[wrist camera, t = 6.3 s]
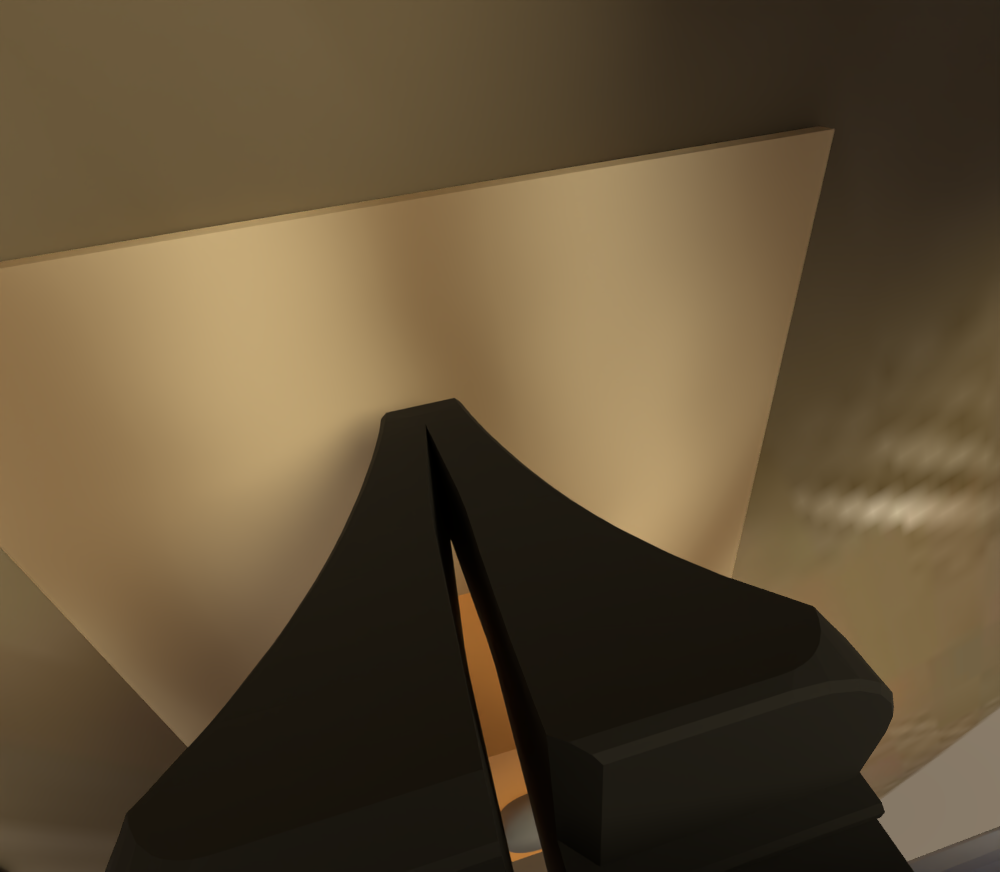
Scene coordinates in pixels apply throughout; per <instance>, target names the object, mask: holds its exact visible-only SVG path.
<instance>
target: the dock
mask: <svg viewBox="0 0 1000 872" xmlns="http://www.w3.org/2000/svg"><path fill="white" fill-rule="evenodd" d="M834 131H835V129H833V128H827V127H821V126H816V127H810V128H804V129H798V130H792V131H786V132H780V133H774V134H768V135H762V136H756V137H750V138H744V139H738V140H732V141H726V142H720V143H714V144H707V145H701V146H695V147H689V148H683V149H677V150H671V151H665V152H659V153H653V154H647V155H641V156H635V157H629V158H623V159H617V160H611V161H605V162H599V163H593V164H587V165H581V166H575V167H569V168H563V169H557V170H551V171H545V172H539V173H533V174H527V175H520V176H514V177H508V178H502V179H496V180H490V181H484V182H478V183H472V184H466V185H460V186H454V187H448V188H442V189H436V190H430V191H424V192H418V193H412V194H406V195H400V196H394V197H388V198H382V199H376V200H370V201H364V202H358V203H352V204H346V205H340V206H334V207H327V208H321V209H315V210H309V211H303V212H297V213H291V214H285V215H279V216H273V217H267V218H261V219H255V220H249V221H243V222H237V223H231V224H225V225H219V226H213V227H207V228H201V229H195V230H189V231H183V232H177V233H171V234H165V235H159V236H153V237H147V238H140V239H134V240H128V241H122V242H116V243H110V244H104V245H98V246H92V247H86V248H80V249H74V250H68V251H62V252H56V253H50V254H44V255H38V256H32V257H26V258H20V259H14V260H8V261H2V262H0V547H1V548H2V549H3V550H4V551H5V552H6V554H7V555H8V556H9V557H10V558H11V559H12V560H13V561H14V562H15V563H16V564H17V565H18V566H19V567H20V569H21V570H22V571H23V572H24V573H25V574H26V575H27V576H28V577H29V578H30V579H31V580H32V581H33V582H34V583H35V585H36V586H37V587H38V588H39V589H40V590H41V591H42V592H43V593H44V594H45V595H46V596H47V597H48V598H49V600H50V601H51V602H52V603H53V604H54V605H55V606H56V607H57V608H58V609H59V610H60V611H61V612H62V613H63V614H64V616H65V617H66V618H67V619H68V620H69V621H70V622H71V623H72V624H73V625H74V626H75V627H76V628H77V629H78V631H79V632H80V633H81V634H82V635H83V636H84V637H85V638H86V639H87V640H88V641H89V642H90V643H91V644H92V645H93V647H94V648H95V649H96V650H97V651H98V652H99V653H100V654H101V655H102V656H103V657H104V658H105V659H106V660H107V662H108V663H109V664H110V665H111V666H112V667H113V668H114V669H115V670H116V671H117V672H118V673H119V674H120V675H121V676H122V678H123V679H124V680H125V681H126V682H127V683H128V684H129V685H130V686H131V687H132V688H133V689H134V690H135V691H136V693H137V694H138V695H139V696H140V697H141V698H142V699H143V700H144V701H145V702H146V703H147V704H148V705H149V706H150V707H151V709H152V710H153V711H154V712H155V713H156V714H157V715H158V716H159V717H160V718H161V719H162V720H163V721H164V722H165V724H166V725H167V726H168V727H169V728H170V729H171V730H172V731H173V732H174V733H175V734H176V735H177V736H178V737H179V738H180V740H181V741H182V742H183V743H184V744H185V745H186V746H187V747H189V746H190V745H191V743H192V742H193V741H194V740H195V739H196V738H197V737H198V736H199V735H200V734H201V733H202V731H203V730H204V729H205V728H206V727H207V726H208V725H209V724H210V722H211V721H212V720H213V719H214V718H215V716H216V715H217V714H218V713H219V712H220V710H221V709H222V708H223V707H224V706H225V705H226V703H227V702H228V701H229V699H230V698H231V697H232V696H233V694H234V693H235V692H236V691H237V689H238V688H239V687H240V685H241V684H242V683H243V682H244V680H245V679H246V678H247V676H248V675H249V674H250V673H251V671H252V670H253V669H254V668H255V666H256V665H257V664H258V662H259V661H260V660H261V659H262V657H263V656H264V655H265V653H266V652H267V651H268V650H269V648H270V647H271V646H272V644H273V643H274V642H275V640H276V639H277V637H278V636H279V635H280V633H281V632H282V630H283V629H284V627H285V626H286V625H287V623H288V622H289V620H290V619H291V617H292V616H293V614H294V613H295V611H296V610H297V608H298V606H299V605H300V603H301V602H302V600H303V599H304V597H305V596H306V594H307V593H308V591H309V590H310V588H311V587H312V585H313V583H314V582H315V580H316V578H317V577H318V575H319V573H320V571H321V570H322V568H323V566H324V564H325V563H326V561H327V559H328V557H329V556H330V554H331V552H332V550H333V548H334V546H335V544H336V542H337V540H338V538H339V537H340V535H341V533H342V530H343V528H344V526H345V524H346V522H347V519H348V517H349V515H350V513H351V511H352V508H353V506H354V504H355V502H356V500H357V497H358V495H359V492H360V490H361V487H362V484H363V482H364V479H365V476H366V473H367V471H368V468H369V465H370V462H371V459H372V456H373V453H374V449H375V446H376V442H377V438H378V434H379V429H380V422H381V419H382V417H383V416H384V415H385V413H387V412H391V411H396V410H401V409H405V408H410V407H414V406H419V405H423V404H428V403H433V402H437V401H442V400H446V399H451V398H455V399H457V400H459V401H460V402H461V403H462V404H463V405H464V407H465V408H466V409H467V410H468V411H469V413H470V414H471V415H472V416H473V417H474V418H475V419H476V420H477V421H478V423H479V424H480V425H481V426H482V427H483V428H484V429H485V430H486V431H487V432H488V433H489V434H490V435H491V436H492V437H493V438H495V439H496V440H497V441H498V442H499V443H500V444H501V445H502V446H503V447H504V448H506V449H507V450H508V451H509V452H510V453H511V454H512V455H513V456H515V457H516V458H517V459H518V460H519V461H520V462H522V463H523V464H524V465H525V466H526V467H528V468H529V469H530V470H531V471H533V472H534V473H535V474H537V475H538V476H539V477H540V478H542V479H543V480H544V481H546V482H547V483H548V484H550V485H551V486H552V487H554V488H555V489H557V490H558V491H559V492H561V493H562V494H564V495H565V496H567V497H568V498H570V499H571V500H573V501H574V502H576V503H577V504H579V505H581V506H582V507H584V508H585V509H587V510H588V511H590V512H592V513H593V514H595V515H597V516H598V517H600V518H602V519H604V520H605V521H607V522H609V523H611V524H612V525H614V526H616V527H618V528H620V529H622V530H624V531H626V532H628V533H630V534H632V535H634V536H636V537H638V538H640V539H642V540H644V541H646V542H648V543H650V544H652V545H654V546H656V547H658V548H660V549H662V550H664V551H666V552H668V553H671V554H673V555H675V556H677V557H680V558H682V559H684V560H687V561H689V562H692V563H694V564H696V565H699V566H701V567H704V568H706V569H709V570H711V571H713V572H716V573H718V574H721V575H724V576H726V577H729V578H731V577H732V573H733V569H734V564H735V560H736V556H737V551H738V547H739V543H740V538H741V534H742V530H743V525H744V521H745V517H746V512H747V508H748V504H749V499H750V495H751V491H752V486H753V482H754V478H755V473H756V469H757V465H758V460H759V456H760V452H761V447H762V443H763V439H764V434H765V430H766V426H767V421H768V417H769V413H770V408H771V404H772V400H773V395H774V391H775V387H776V382H777V378H778V374H779V369H780V365H781V361H782V356H783V352H784V348H785V343H786V339H787V335H788V330H789V326H790V322H791V317H792V313H793V308H794V304H795V300H796V295H797V291H798V287H799V282H800V278H801V274H802V269H803V265H804V261H805V256H806V252H807V248H808V243H809V239H810V235H811V230H812V226H813V222H814V217H815V213H816V209H817V204H818V200H819V196H820V191H821V187H822V183H823V178H824V174H825V170H826V165H827V161H828V157H829V152H830V148H831V144H832V139H833V135H834ZM451 546H452V554H453V561H454V569H455V576H456V584H457V592H458V596H459V595H463V594H466V593H470V592H469V589H468V586H467V583H466V581H465V578H464V575H463V572H462V569H461V567H460V564H459V561H458V558H457V555H456V553H455V550H454V547H453V544H452V541H451ZM512 865H513V870H514V872H547V868H546V864H545V860H544V856H543V852H540V853H537V854H534V855H531V856H528V857H525V858H522V859H519V860H516V861H513V862H512Z"/></svg>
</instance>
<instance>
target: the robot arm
mask: <svg viewBox="0 0 1000 872" xmlns="http://www.w3.org/2000/svg"><path fill="white" fill-rule="evenodd" d="M451 541H452V544H453V547H454V550H455V553H456V555H457V558H458V561H459V564H460V567H461V569H462V572H463V575H464V578H465V581H466V583H467V586H468V589H469V592H470V594H471V597H472V600H473V603H474V606H475V608H476V611H477V614H478V617H479V619H480V622H481V625H482V628H483V631H484V633H485V636H486V639H487V642H488V645H489V648H490V651H491V654H492V658H493V661H494V664H495V667H496V671H497V675H498V679H499V683H500V687H501V691H502V695H503V699H504V702H505V706H506V710H507V714H508V718H509V722H510V726H511V730H512V734H513V738H514V741H515V745H516V749H517V753H518V757H519V761H520V765H521V769H522V773H523V777H524V781H525V785H526V789H527V793H528V797H529V801H530V804H531V808H532V812H533V816H534V820H535V824H536V828H537V832H538V836H539V840H540V844H541V848H542V852H543V856H544V860H545V864H546V868H547V872H1000V826H999V827H997V828H994V829H992V830H989V831H986V832H984V833H981V834H978V835H976V836H973V837H971V838H968V839H966V840H963V841H960V842H957V843H955V844H952V845H950V846H947V847H944V848H942V849H939V850H937V851H934V852H931V853H929V854H926V855H923V856H921V857H918V858H915V859H913V860H910V861H908V862H907V861H906V860H905V858H904V857H903V855H902V854H901V852H900V851H899V850H898V848H897V847H896V845H895V844H894V842H893V841H892V840H891V838H890V837H889V835H888V834H887V833H886V831H885V830H884V829H883V827H882V826H881V824H880V823H879V821H878V820H877V818H880V817H881V816H882V815H883V814H884V812H885V811H884V808H883V805H882V802H881V801H880V800H879V798H878V797H877V795H876V794H875V793H874V791H873V790H872V789H871V787H870V786H869V784H868V783H867V782H866V780H865V779H864V778H863V776H862V775H861V773H860V771H861V769H862V768H863V766H864V764H865V763H866V761H867V760H868V758H869V757H870V755H871V754H872V752H873V751H874V749H875V748H876V746H877V745H878V743H879V742H880V740H881V739H882V737H883V736H884V734H885V733H886V730H887V728H888V726H889V724H890V722H891V719H892V717H893V708H894V705H893V694H892V692H891V690H890V689H889V688H888V687H887V686H886V685H885V683H884V682H883V681H882V680H881V679H880V678H879V677H878V675H877V674H876V673H875V672H874V671H873V670H872V668H871V667H870V666H869V665H868V664H867V663H866V661H865V660H864V659H863V658H862V656H861V655H860V654H859V653H858V652H857V651H856V650H855V648H854V647H853V646H852V645H851V644H850V643H849V642H848V640H847V639H846V638H845V637H844V636H843V635H842V634H841V633H840V632H839V631H838V630H837V629H835V628H834V627H833V626H832V625H831V624H830V623H829V622H828V621H827V620H826V619H825V618H824V617H823V616H822V615H821V614H820V613H819V612H818V611H817V609H816V608H815V607H813V606H811V605H808V604H805V603H802V602H799V601H796V600H793V599H790V598H787V597H784V596H781V595H778V594H775V593H773V592H770V591H767V590H764V589H761V588H758V587H755V586H752V585H749V584H746V583H743V582H740V581H737V580H734V579H731V578H729V577H726V576H724V575H721V574H718V573H716V572H713V571H711V570H709V569H706V568H704V567H701V566H699V565H696V564H694V563H692V562H689V561H687V560H684V559H682V558H680V557H677V556H675V555H673V554H671V553H668V552H666V551H664V550H662V549H660V548H658V547H656V546H654V545H652V544H650V543H648V542H646V541H644V540H642V539H640V538H638V537H636V536H634V535H632V534H630V533H628V532H626V531H624V530H622V529H620V528H618V527H616V526H614V525H612V524H611V523H609V522H607V521H605V520H604V519H602V518H600V517H598V516H597V515H595V514H593V513H592V512H590V511H588V510H587V509H585V508H584V507H582V506H581V505H579V504H577V503H576V502H574V501H573V500H571V499H570V498H568V497H567V496H565V495H564V494H562V493H561V492H559V491H558V490H557V489H555V488H554V487H552V486H551V485H550V484H548V483H547V482H546V481H544V480H543V479H542V478H540V477H539V476H538V475H537V474H535V473H534V472H533V471H531V470H530V469H529V468H528V467H526V466H525V465H524V464H523V463H522V462H520V461H519V460H518V459H517V458H516V457H515V456H513V455H512V454H511V453H510V452H509V451H508V450H507V449H506V448H504V447H503V446H502V445H501V444H500V443H499V442H498V441H497V440H496V439H495V438H493V437H492V436H491V435H490V434H489V433H488V432H487V431H486V430H485V429H484V428H483V427H482V426H481V425H480V424H479V423H478V421H477V420H476V419H475V418H474V417H473V416H472V415H471V414H470V413H469V411H468V410H467V409H466V408H465V407H464V405H463V404H462V403H461V402H460V401H459V400H457V399H455V398H451V399H446V400H442V401H437V402H433V403H428V404H423V405H419V406H414V407H410V408H405V409H401V410H396V411H391V412H387V413H385V415H384V416H383V417H382V419H381V422H380V429H379V434H378V438H377V442H376V446H375V449H374V453H373V456H372V459H371V462H370V465H369V468H368V471H367V473H366V476H365V479H364V482H363V484H362V487H361V490H360V492H359V495H358V497H357V500H356V502H355V504H354V506H353V508H352V511H351V513H350V515H349V517H348V519H347V522H346V524H345V526H344V528H343V530H342V533H341V535H340V537H339V538H338V540H337V542H336V544H335V546H334V548H333V550H332V552H331V554H330V556H329V557H328V559H327V561H326V563H325V564H324V566H323V568H322V570H321V571H320V573H319V575H318V577H317V578H316V580H315V582H314V583H313V585H312V587H311V588H310V590H309V591H308V593H307V594H306V596H305V597H304V599H303V600H302V602H301V603H300V605H299V606H298V608H297V610H296V611H295V613H294V614H293V616H292V617H291V619H290V620H289V622H288V623H287V625H286V626H285V627H284V629H283V630H282V632H281V633H280V635H279V636H278V637H277V639H276V640H275V642H274V643H273V644H272V646H271V647H270V648H269V650H268V651H267V652H266V653H265V655H264V656H263V657H262V659H261V660H260V661H259V662H258V664H257V665H256V666H255V668H254V669H253V670H252V671H251V673H250V674H249V675H248V676H247V678H246V679H245V680H244V682H243V683H242V684H241V685H240V687H239V688H238V689H237V691H236V692H235V693H234V694H233V696H232V697H231V698H230V699H229V701H228V702H227V703H226V705H225V706H224V707H223V708H222V709H221V710H220V712H219V713H218V714H217V715H216V716H215V718H214V719H213V720H212V721H211V722H210V724H209V725H208V726H207V727H206V728H205V729H204V730H203V731H202V733H201V734H200V735H199V736H198V737H197V738H196V739H195V740H194V741H193V742H192V743H191V745H190V746H189V747H188V748H187V749H186V750H185V751H184V752H183V753H182V754H181V755H180V757H179V758H178V759H177V760H176V761H175V762H174V763H173V764H172V765H171V766H170V768H169V769H168V770H167V771H166V772H165V773H164V774H163V775H162V776H161V777H160V778H159V780H158V781H157V782H156V783H155V784H154V785H153V786H152V787H151V788H150V789H149V791H148V792H147V793H146V794H145V795H144V796H143V797H142V798H141V799H140V800H139V801H138V802H137V803H136V804H135V805H134V806H133V807H132V808H131V809H130V810H129V811H128V812H127V814H126V816H125V819H124V822H123V825H122V828H121V831H120V834H119V837H118V839H117V842H116V844H115V847H114V850H113V852H112V855H111V857H110V860H109V862H108V865H107V867H106V870H105V872H514V870H513V865H512V861H511V856H510V852H509V848H508V843H507V839H506V834H505V830H504V825H503V821H502V817H501V812H500V808H499V803H498V799H497V794H496V790H495V786H494V781H493V777H492V772H491V768H490V763H489V759H488V754H487V750H486V746H485V741H484V737H483V732H482V728H481V723H480V719H479V714H478V710H477V706H476V701H475V697H474V692H473V688H472V683H471V679H470V674H469V669H468V663H467V657H466V652H465V645H464V637H463V630H462V622H461V614H460V607H459V599H458V592H457V584H456V576H455V569H454V561H453V554H452V546H451Z"/></svg>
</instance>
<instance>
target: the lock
mask: <svg viewBox="0 0 1000 872" xmlns="http://www.w3.org/2000/svg"><path fill="white" fill-rule="evenodd" d="M458 599H459V607H460V614H461V622H462V630H463V637H464V645H465V652H466V657H467V663H468V669H469V674H470V679H471V683H472V688H473V692H474V697H475V701H476V706H477V710H478V714H479V719H480V723H481V728H482V732H483V737H484V741H485V746H486V750H487V754H488V759H489V763H490V768H491V772H492V777H493V781H494V786H495V790H496V794H497V799H498V803H499V808H500V812H501V817H502V821H503V825H504V830H505V834H506V839H507V843H508V848H509V852H510V856H511V861H512V862H513V861H516V860H519V859H522V858H525V857H528V856H531V855H534V854H537V853H540V852H542V848H541V844H540V840H539V836H538V832H537V828H536V824H535V820H534V816H533V812H532V808H531V804H530V801H529V797H528V793H527V789H526V785H525V781H524V777H523V773H522V769H521V765H520V761H519V757H518V753H517V749H516V745H515V741H514V738H513V734H512V730H511V726H510V722H509V718H508V714H507V710H506V706H505V702H504V699H503V695H502V691H501V687H500V683H499V679H498V675H497V671H496V667H495V664H494V661H493V658H492V654H491V651H490V648H489V645H488V642H487V639H486V636H485V633H484V631H483V628H482V625H481V622H480V619H479V617H478V614H477V611H476V608H475V606H474V603H473V600H472V597H471V594H470V593H466V594H463V595H459V596H458Z"/></svg>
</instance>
